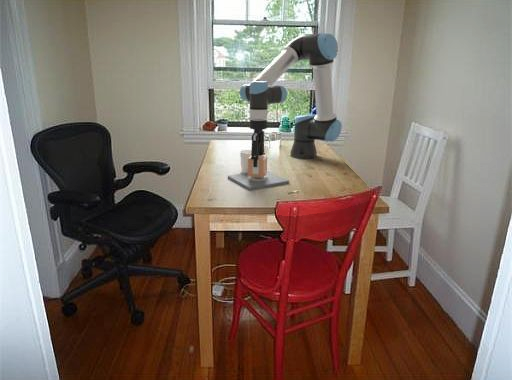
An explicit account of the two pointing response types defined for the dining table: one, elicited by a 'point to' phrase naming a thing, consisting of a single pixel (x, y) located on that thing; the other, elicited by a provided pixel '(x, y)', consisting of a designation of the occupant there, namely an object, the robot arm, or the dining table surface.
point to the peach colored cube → (261, 166)
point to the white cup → (245, 160)
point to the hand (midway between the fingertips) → (257, 171)
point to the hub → (257, 180)
